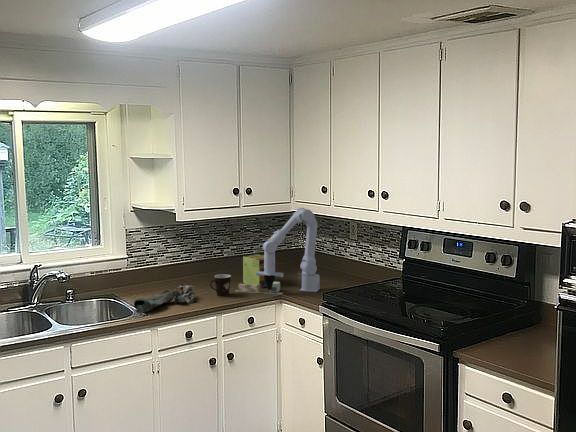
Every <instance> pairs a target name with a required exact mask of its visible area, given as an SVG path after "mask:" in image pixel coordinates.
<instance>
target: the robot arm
mask: <svg viewBox="0 0 576 432" xmlns="http://www.w3.org/2000/svg"><path fill="white" fill-rule="evenodd" d="M316 219H317V218H316V217H315V212H313V211H312V210H310V209H307V208H304V207H299V208H297V210H296V211H295V212H293V214H292V215H291V217H290V218H289V219H288V220H287V222H286V223H285V224H284V226H282V228H281V229H278V230H275V231H274V232H273V234H272V235H271V237H270V238H268V239H267V241H265V242H264V243H263V245H262V250H263V256H264V271H257V272H256V276H264V280H265V282H266V284H267V290H268V291H270V290H271V289H272V285H273V282H275V279H276V277H280V278H283V277H284V272H277V271H276V252H277V248H278V246H279V245H280V244H281V243H282V242H284V240H285V239H286V234H287V233H289V231H290V230H291V229H292V228H293V227H294V226H295V225H297V224H300V223H304V224H305V225H306V237H305V238H306V239H305V246H304V247H305V248H304V255H303V257H302V260H301V262H300V265H299V266H300V268H299V269H301V270H302V271H301V288H300V289H299V292H308V293H309V292H311V293H318V291H320V287H321V286H320V282H321V281H320V280H321V276H320V274H317V269H318V265H317V260H316V256H315V254H316V245H317V243H316V242H317V232H318V221H317V220H316Z"/></svg>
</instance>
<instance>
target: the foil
mask: <svg viewBox="0 0 576 432" xmlns="http://www.w3.org/2000/svg"><path fill="white" fill-rule="evenodd" d="M175 286H176V288H175V289H174V290H173V291H174V299H173V300H174V304H175V305H177V304H178V303H179V302H182V301H184V302H186V304H188V305H191V304H193V303H196V301H197V296H195V295H196V292H195V291H194V288H195V286H194V285H192V284H190V283H188V284H186V285H184V284H183V283H181V284H180V285H179V286H178V285H176V284H175ZM179 288H180V290H181V292H180V291H178V290H177V289H179Z"/></svg>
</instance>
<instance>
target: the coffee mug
mask: <svg viewBox="0 0 576 432" xmlns="http://www.w3.org/2000/svg"><path fill="white" fill-rule="evenodd" d="M231 280H232V275H231V274H225V273H224V274H223V273H222V274H215V275H214V279H212V280H211V281H210V283H209V286H210V288H212V289H213V290H214V291H216V292H215V294H216V296H217V297H228V296H230V291H231V290H230V289H231ZM213 282H214V284H215V285H214V286H215V287H213V285H212V284H213Z"/></svg>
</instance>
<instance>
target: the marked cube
mask: <svg viewBox="0 0 576 432" xmlns="http://www.w3.org/2000/svg"><path fill="white" fill-rule="evenodd" d="M280 291H281V282H280V281H274V282H273V285H272V289H271V290H269V292H276V293H279V292H280Z"/></svg>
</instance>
